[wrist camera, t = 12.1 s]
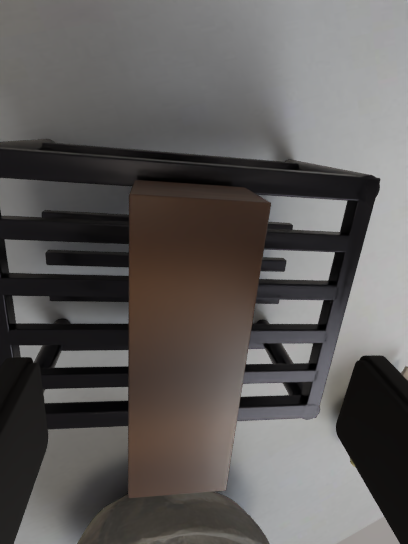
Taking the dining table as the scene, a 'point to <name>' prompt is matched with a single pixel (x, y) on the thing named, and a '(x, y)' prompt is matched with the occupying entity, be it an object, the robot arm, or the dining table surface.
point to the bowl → (173, 521)
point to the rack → (102, 288)
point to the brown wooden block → (189, 330)
